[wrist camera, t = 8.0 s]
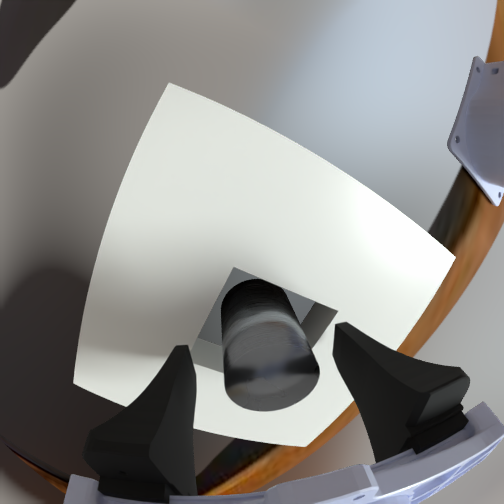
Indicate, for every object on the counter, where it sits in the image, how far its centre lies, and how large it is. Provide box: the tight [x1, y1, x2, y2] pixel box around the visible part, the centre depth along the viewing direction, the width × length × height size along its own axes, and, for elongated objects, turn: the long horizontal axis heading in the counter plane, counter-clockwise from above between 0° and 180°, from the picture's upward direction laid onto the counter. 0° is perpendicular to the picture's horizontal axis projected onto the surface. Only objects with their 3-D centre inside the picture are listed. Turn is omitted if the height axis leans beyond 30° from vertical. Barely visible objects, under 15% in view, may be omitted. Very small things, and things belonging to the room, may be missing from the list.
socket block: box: [74, 83, 456, 447], centre depth 15 cm, size 18×18×2 cm
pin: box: [221, 279, 320, 412], centre depth 14 cm, size 4×4×6 cm
